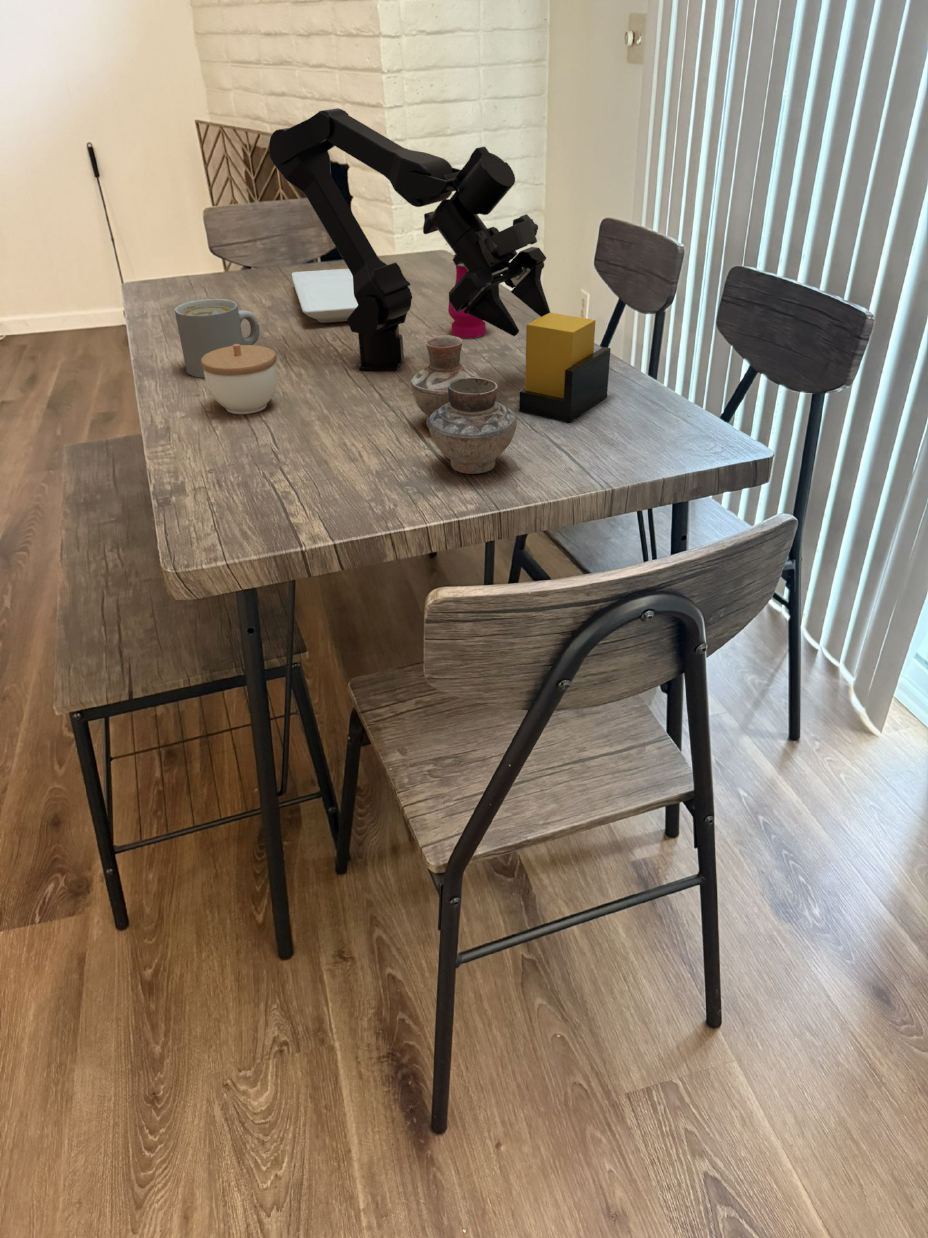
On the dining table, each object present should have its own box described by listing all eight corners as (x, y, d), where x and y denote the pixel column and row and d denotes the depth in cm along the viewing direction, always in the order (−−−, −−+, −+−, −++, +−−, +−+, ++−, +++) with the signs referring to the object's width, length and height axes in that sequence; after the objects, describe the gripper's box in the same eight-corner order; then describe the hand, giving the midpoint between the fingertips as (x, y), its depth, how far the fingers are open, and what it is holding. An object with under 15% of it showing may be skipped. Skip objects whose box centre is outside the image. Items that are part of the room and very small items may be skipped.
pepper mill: (442, 336, 161) (438, 217, 150) (458, 325, 167) (455, 209, 156) (479, 340, 159) (478, 220, 148) (494, 329, 165) (494, 211, 153)
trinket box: (220, 425, 129) (208, 361, 124) (202, 402, 137) (190, 340, 131) (291, 411, 133) (283, 348, 128) (270, 389, 141) (261, 329, 135)
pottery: (473, 407, 133) (472, 326, 126) (528, 477, 113) (530, 385, 106) (399, 416, 130) (394, 334, 124) (441, 489, 111) (438, 396, 104)
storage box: (524, 405, 133) (525, 323, 126) (546, 391, 138) (549, 312, 131) (569, 415, 130) (573, 332, 123) (590, 400, 134) (595, 319, 128)
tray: (369, 281, 195) (368, 265, 193) (394, 322, 169) (392, 303, 167) (292, 288, 192) (289, 271, 190) (304, 330, 166) (302, 311, 164)
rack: (518, 411, 131) (519, 360, 127) (557, 386, 139) (559, 338, 135) (569, 422, 127) (572, 371, 123) (607, 397, 135) (610, 347, 131)
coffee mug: (193, 381, 144) (181, 318, 139) (181, 363, 152) (168, 303, 146) (274, 368, 149) (265, 307, 143) (257, 351, 157) (249, 292, 151)
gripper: (464, 208, 117) (535, 306, 118) (536, 186, 129) (600, 275, 130) (418, 265, 125) (486, 356, 126) (490, 239, 137) (551, 322, 138)
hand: (533, 325), depth 130 cm, fingers open, 9 cm apart
